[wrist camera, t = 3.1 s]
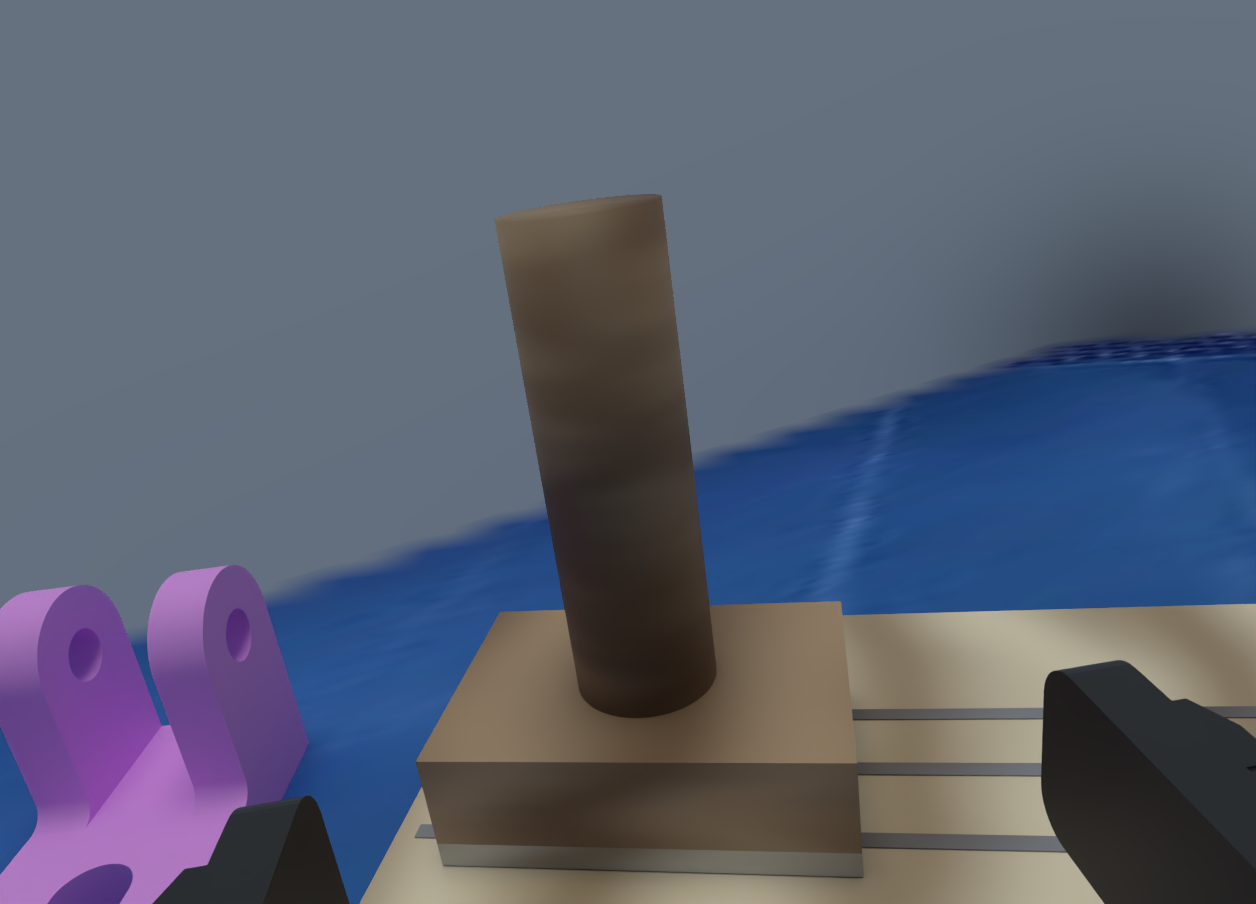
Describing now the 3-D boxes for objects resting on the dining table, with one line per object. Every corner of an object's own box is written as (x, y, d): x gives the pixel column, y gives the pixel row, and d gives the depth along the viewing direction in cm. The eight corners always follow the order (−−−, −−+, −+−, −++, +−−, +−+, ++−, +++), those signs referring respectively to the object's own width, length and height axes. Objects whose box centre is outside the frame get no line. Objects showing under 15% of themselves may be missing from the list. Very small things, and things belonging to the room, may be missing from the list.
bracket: (131, 769, 28) (51, 567, 25) (310, 747, 27) (246, 541, 25) (-249, 1281, 15) (-475, 985, 13) (68, 1247, 15) (-101, 940, 13)
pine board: (310, 1091, 17) (288, 1033, 17) (516, 664, 30) (508, 623, 29) (1737, 1212, 13) (1770, 1138, 12) (1259, 649, 25) (1265, 602, 25)
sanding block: (442, 865, 20) (284, 259, 15) (518, 698, 25) (417, 216, 21) (863, 877, 18) (824, 193, 14) (846, 694, 24) (814, 165, 19)
